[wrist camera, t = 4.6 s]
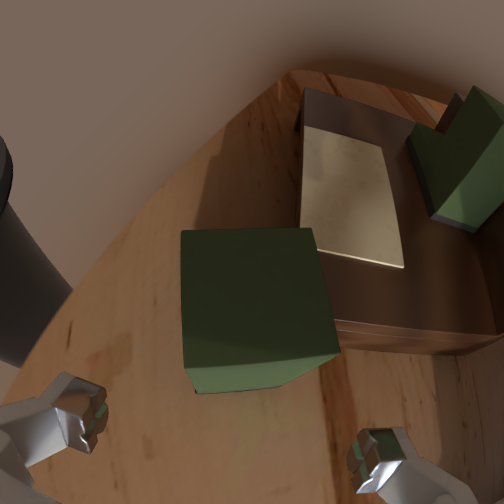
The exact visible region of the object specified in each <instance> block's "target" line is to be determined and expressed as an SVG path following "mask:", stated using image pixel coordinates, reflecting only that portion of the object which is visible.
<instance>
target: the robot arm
mask: <svg viewBox="0 0 504 504" xmlns="http://www.w3.org/2000/svg"><path fill="white" fill-rule="evenodd" d="M106 397H107V393H106V389H105V388H104V387H102V386H99V385H97V384H94V383H91V382H89V381H86V380H84V379H81V378H79V377H76V376H73V375H71V374H69V373H66V372H63V373H60V374H59V376H58V377H57V378H56V379H55V380H54V381H53V382H52V383H51V384H50V386H49V387H48V388H47V389H46V390H45V391H44V392H43V393H42V395H41V396H40V397H39V398H38V399H37V398H35V397H33V398H30V399H26V400H22V401H19V402H15V403H11V404H8V405H4V406H0V504H62V503H60V502H58V501H56V500H54V499H52V498H50V497H48V496H46V495H44V494H42V493H41V492H39V491H37V490H35V489H33V488H32V487H33V485H34V480H33V478H32V476H31V475H30V473H29V471H28V469H27V467H29V466H31V465H33V464H35V463H37V462H39V461H41V460H43V459H45V458H47V457H49V456H51V455H53V454H55V453H56V452H58V451H60V450H62V449H64V448H66V447H67V446H69V447H72V448H74V449H77V450H79V451H82V452H84V453H87V454H89V455H91V453H92V451H93V449H94V447H95V446H96V444H97V442H98V439H97V434H99V433H102V432H103V431H104V429H105V427H106V424H107V421H108V414H109V410H108V406H107V404H106V403H105V402H104V401H105V399H106ZM357 439H358V441H357V442H355V443H354V444H352V445H351V447H350V449H349V450H348V453H347V458H346V459H347V467H348V470H349V471H350V472H352V473H353V474H354V475H353V477H352V478H351V481H352V485H353V488H354V492H355V494H360V493H372V492H377V494H378V495H379V496H381V497H382V498H383V499H384V500H385V501H386V502H387V503H388V504H479V503H478V501H477V499H476V498H475V496H474V494H473V492H472V490H471V489H470V487H469V485H467V484H465V483H463V482H462V481H460V480H458V479H457V478H455V477H454V476H452V475H450V474H449V473H447V472H445V471H444V470H442V469H441V468H439V467H437V466H436V465H434V464H433V463H431V462H430V461H428V460H427V459H425V458H420V457H419V455H418V453H417V451H416V449H415V448H414V446H413V444H412V442H411V440H410V438H409V436H408V434H407V432H406V431H405V429H404V428H403V427H389V428H366V429H362V430H361V431H360V432H359V433H358V435H357ZM494 504H504V499H502V500H500V501H498V502H496V503H494Z"/></svg>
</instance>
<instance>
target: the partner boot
mask: <svg viewBox="0 0 504 504" xmlns="http://www.w3.org/2000/svg"><path fill="white" fill-rule="evenodd" d="M406 143H407V146H408V149H409V152H410V155H411V157H412V160H413V163H414V166H415V169H416V172H417V175H418V179H419V182H420V185H421V188H422V192H423V195H424V199H425V202H426V206H427V210H428V213H429V217H430V219H432V220H435V221H438V222H442V223H445V224H448V225H451V226H454V227H457V228H460V229H463V230H465V231H468V232H471V233H475V232H476V231H477V230H478V229H479V227H480V226H481V225H482V224H483V223H484V222H485V221H486V220H487V218H488V217H489V216H490V215H491V214H492V213H493V212H494V211H495V210H496V209H497V208H498V207H499V206H500V205H501V204H502V203H503V201H504V105H503V104H502V103H500V102H499V101H497V100H496V99H495V98H493V97H492V96H490V95H489V94H487V93H485V92H484V91H482V90H481V89H479V88H478V87H476V86H473V87H472V89H471V90H470V92H469V94H468V96H467V98H466V99H465V101H464V103H463V105H462V106H461V108H460V110H459V111H458V113H457V115H456V116H455V118H454V120H453V121H452V123H451V125H450V126H449V128H448V130H447V131H446V133H445V134H442V133H440V132H438V131H436V130H434V129H431V128H429V127H427V126H424V125H422V124H420V123H416V124H415V126H414V128H413V130H412V132H411V133H410V135H408V137H407V139H406Z"/></svg>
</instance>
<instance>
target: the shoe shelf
mask: <svg viewBox="0 0 504 504" xmlns="http://www.w3.org/2000/svg"><path fill="white" fill-rule="evenodd" d="M465 99H466V98H465V97H464V96H463V95H461V94H459V93H458V92H455V94H454V96H453V98H452V100H451V102H450V103H449V105H448V107H447V108H446V110H445V112H444V114H443V115H442V117H441V119H440V121H439V122H438V124H437V126H436V127H435V129H434V130H436V131H438V132H440V133H442V134H445V133H446V131H447V130H448V128H449V126H450V125H451V123H452V121H453V120H454V118H455V116H456V115H457V113H458V111H459V110H460V108H461V106H462V105H463V103H464V101H465ZM415 124H416V123H415V122H412V121H410V120H407V119H405V118H402V117H400V116H397V115H394V114H392V113H389V112H386V111H383V110H380V109H378V108H375V107H372V106H369V105H366V104H363V103H359V102H356V101H353V100H350V99H346V98H343V97H340V96H336V95H333V94H329V93H325V92H321V91H318V90H314V89H310V88H304V91H303V95H302V99H301V102H300V106H299V110H298V113H297V117H296V120H295V125H294V131H298V132H300V148H299V167H298V184H297V200H296V214H295V227H294V228H312V231H313V235H314V239H315V242H316V246H317V250H318V254H319V258H320V262H321V266H322V270H323V274H324V278H325V282H326V287H327V291H328V295H329V300H330V304H331V308H332V313H333V317H334V322H335V327H336V331H337V336H338V341H339V346H340V347H341V348H350V349H360V350H370V351H382V352H394V353H409V354H427V355H454V356H465V355H467V354H470V353H472V352H474V351H476V350H479V349H481V348H483V347H485V346H487V345H489V344H491V343H493V342H495V341H498V340H500V339H502V338H503V337H504V201H503V203H502V204H501V205H500V206H499V207H498V208H497V209H496V210H495V211H494V212H493V213H492V214H491V215H490V216H489V217H488V218H487V220H486V221H485V222H484V223H483V224H482V225H481V226H480V227H479V229H478V230H477V231H476V232H475V233H471V232H468V231H465V230H463V229H460V228H457V227H454V226H451V225H448V224H445V223H442V222H438V221H435V220H432V219H430V217H429V213H428V210H427V206H426V202H425V199H424V195H423V192H422V188H421V185H420V182H419V179H418V175H417V172H416V169H415V166H414V163H413V160H412V157H411V155H410V152H409V149H408V146H407V143H406V139H407V137H408V135H410V133H411V132H412V130H413V128H414V126H415Z"/></svg>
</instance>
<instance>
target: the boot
mask: <svg viewBox="0 0 504 504" xmlns="http://www.w3.org/2000/svg"><path fill="white" fill-rule="evenodd" d="M181 312H182V337H183V356H184V368H185V370H186V372H187V374H188V376H189V378H190V380H191V382H192V384H193V386H194V387H195V393H196V394H211V393H226V392H239V391H249V390H259V389H268V388H276V387H280V386H282V385H283V384H285V383H287V382H289V381H291V380H293V379H295V378H297V377H299V376H301V375H303V374H305V373H306V372H308V371H310V370H312V369H314V368H316V367H318V366H320V365H321V364H323V363H325V362H327V361H329V360H330V359H332V358H334V357H336V356H337V355H339V354H340V353H341V351H340V346H339V341H338V336H337V331H336V327H335V322H334V317H333V313H332V308H331V304H330V300H329V295H328V291H327V287H326V282H325V278H324V274H323V270H322V266H321V262H320V258H319V254H318V250H317V246H316V242H315V239H314V235H313V231H312V228H251V229H212V230H183V231H181Z"/></svg>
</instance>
